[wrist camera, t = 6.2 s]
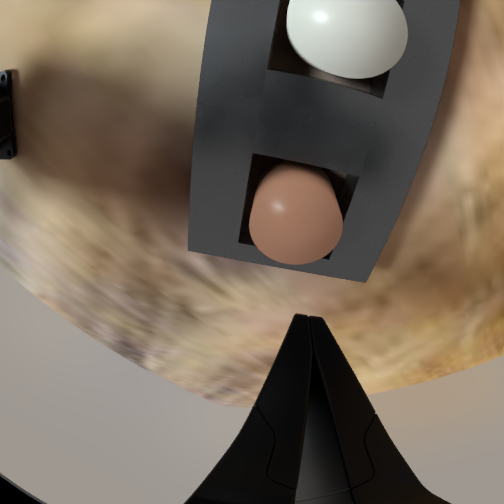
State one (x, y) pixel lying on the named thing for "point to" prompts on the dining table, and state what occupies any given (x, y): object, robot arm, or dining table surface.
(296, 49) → the white button
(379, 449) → the robot arm
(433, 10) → the button panel
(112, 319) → the dining table surface
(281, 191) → the terracotta button
